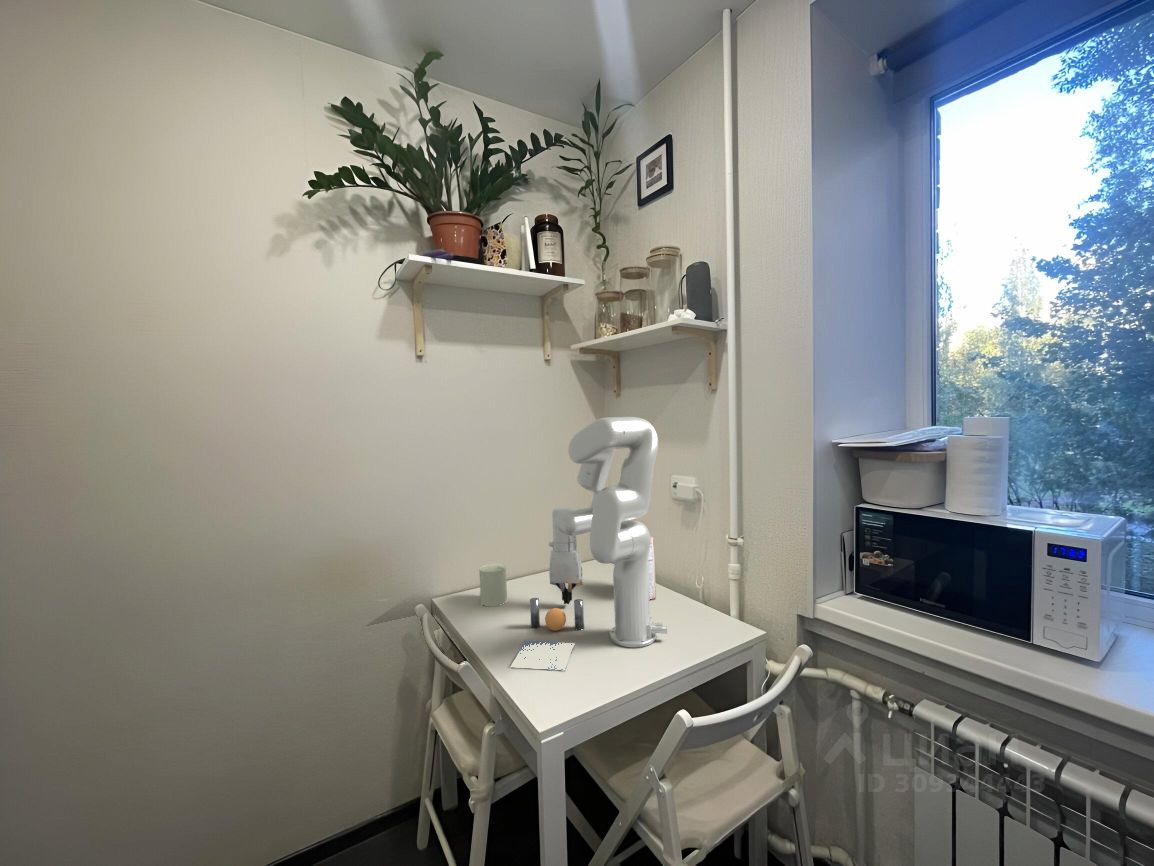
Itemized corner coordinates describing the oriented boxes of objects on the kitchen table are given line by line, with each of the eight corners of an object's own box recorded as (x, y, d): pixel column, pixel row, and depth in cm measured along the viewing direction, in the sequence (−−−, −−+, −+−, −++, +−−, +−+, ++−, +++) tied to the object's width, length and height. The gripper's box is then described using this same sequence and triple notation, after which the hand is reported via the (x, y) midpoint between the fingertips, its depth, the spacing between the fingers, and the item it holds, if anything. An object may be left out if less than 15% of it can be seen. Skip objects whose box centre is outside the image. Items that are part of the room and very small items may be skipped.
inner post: (584, 626, 131) (583, 599, 131) (583, 630, 129) (582, 602, 129) (575, 626, 132) (574, 598, 132) (574, 630, 129) (573, 602, 129)
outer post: (540, 624, 133) (539, 597, 133) (538, 628, 131) (537, 601, 131) (532, 624, 134) (531, 597, 134) (529, 628, 131) (528, 601, 131)
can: (502, 607, 148) (500, 570, 148) (475, 606, 150) (474, 570, 150) (511, 596, 157) (510, 562, 157) (486, 595, 159) (485, 561, 159)
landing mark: (575, 643, 121) (575, 642, 121) (565, 671, 107) (565, 670, 107) (525, 641, 124) (525, 640, 124) (508, 668, 110) (508, 667, 110)
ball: (567, 627, 132) (566, 606, 133) (565, 632, 126) (563, 609, 127) (547, 628, 132) (546, 607, 134) (543, 633, 127) (542, 610, 128)
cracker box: (620, 589, 160) (617, 530, 160) (634, 586, 163) (632, 528, 162) (641, 602, 147) (638, 538, 147) (656, 599, 150) (654, 536, 150)
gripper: (539, 548, 143) (541, 606, 144) (586, 549, 141) (588, 608, 141) (545, 542, 151) (547, 597, 151) (589, 543, 148) (591, 598, 148)
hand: (567, 602), depth 146 cm, fingers closed
